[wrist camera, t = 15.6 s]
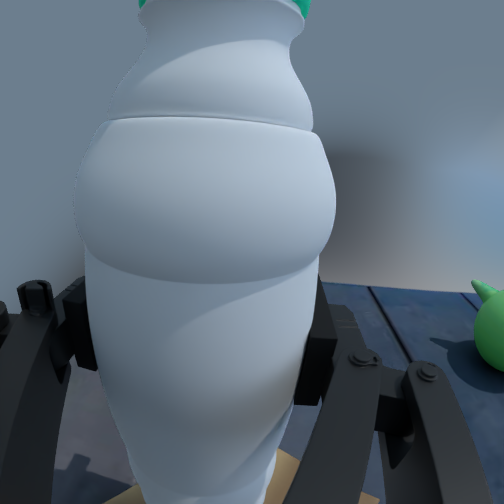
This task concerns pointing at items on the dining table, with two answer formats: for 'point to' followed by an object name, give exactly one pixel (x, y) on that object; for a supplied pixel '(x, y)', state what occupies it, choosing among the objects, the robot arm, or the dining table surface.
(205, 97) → the water bottle
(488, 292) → the toy bird
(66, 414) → the dining table surface
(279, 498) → the gold metal sheet
